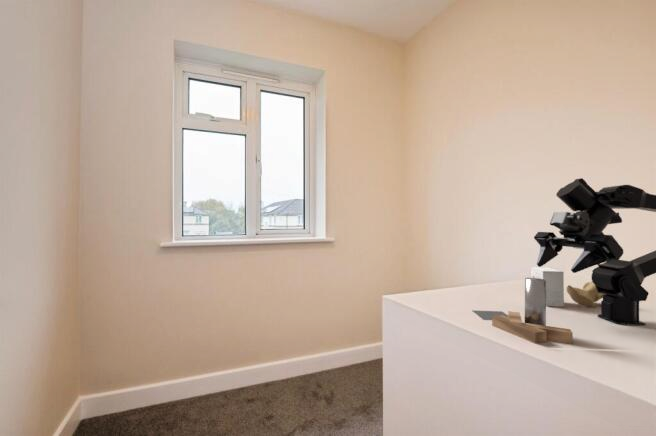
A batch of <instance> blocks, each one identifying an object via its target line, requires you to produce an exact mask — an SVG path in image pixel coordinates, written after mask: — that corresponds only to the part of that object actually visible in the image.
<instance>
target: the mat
mask: <svg viewBox="0 0 656 436" xmlns="http://www.w3.org/2000/svg"><path fill="white" fill-rule="evenodd" d="M471 312H473V313H475V314H476V315H477V316H478V317H479V318H481V320H484V321H492V316H499V315H503V316H506V317H508V314H507V313H505V312H503V311H501V310H500V311H499V310H498V311H496V310H493V311H492V310H473V309H472V311H471Z"/></svg>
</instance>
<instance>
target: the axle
mask: <svg viewBox="0 0 656 436" xmlns="http://www.w3.org/2000/svg"><path fill="white" fill-rule="evenodd" d="M524 323H529V324H536V325H543V326H547V306H546V280H544V279H539V278H531V277H525V278H524Z"/></svg>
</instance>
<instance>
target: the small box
mask: <svg viewBox="0 0 656 436" xmlns="http://www.w3.org/2000/svg"><path fill="white" fill-rule="evenodd" d="M530 272H531V274H530V275H531V277H530V278H539V279H544V280H546V307H556V308H557V307H559V308H560V307H561V308H563V307H565V298H564V297H565V293H564V291H565V289H564V276H565V275H564V271H563V270H558V269H555V268H552V267H539V266H538V267H534V266H533V267H531V268H530Z"/></svg>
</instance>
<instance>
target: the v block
mask: <svg viewBox="0 0 656 436" xmlns="http://www.w3.org/2000/svg"><path fill="white" fill-rule="evenodd" d="M507 312H508V314H507V315H508V317H506V316H503V315H499V316H492V320H491V322H492V323H491V326H493V327H494V328H497V329H500V331H501V330H502V331H504V332H507V333H508V334H511V335H514V336H517V337H518V338H520V339H523V340H524V341H525V340H526V341H528V342H530V343H533V344H541V343H547V341H552V342H558V343H565V344H571V345H573V341H574V339H573V337H574V336H573V335H574V334H573V331H572V330H571V329H570V328H563V327H557V326H556V327H555V326H548V325H546V326H543V325H536V324H529V323H525V322H523V320H522V316H521V313H520V312H517V311H509V310H508V311H507Z"/></svg>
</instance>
